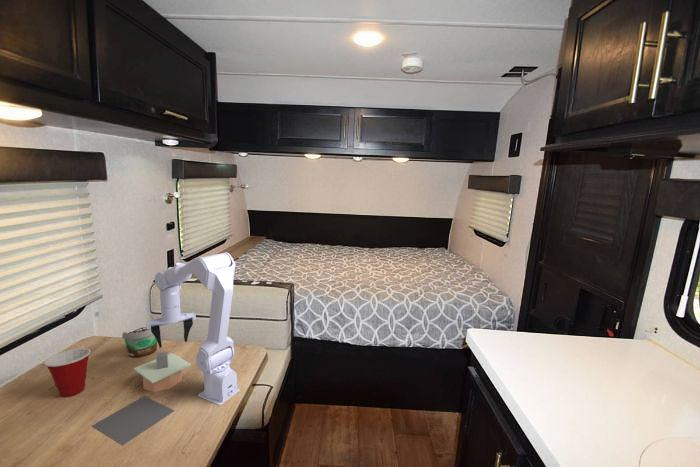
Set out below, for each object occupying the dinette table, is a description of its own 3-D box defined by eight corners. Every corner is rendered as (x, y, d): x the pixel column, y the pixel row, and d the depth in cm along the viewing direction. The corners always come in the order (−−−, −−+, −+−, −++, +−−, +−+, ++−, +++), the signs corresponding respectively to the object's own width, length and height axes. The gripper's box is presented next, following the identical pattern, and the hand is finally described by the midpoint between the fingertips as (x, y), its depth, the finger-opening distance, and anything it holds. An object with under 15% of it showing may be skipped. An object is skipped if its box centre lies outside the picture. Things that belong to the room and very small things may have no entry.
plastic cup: (89, 376, 109) (85, 342, 107) (99, 389, 102) (95, 354, 100) (45, 392, 101) (40, 356, 99) (52, 408, 94) (47, 369, 92)
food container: (130, 363, 117) (128, 337, 115) (123, 357, 120) (121, 332, 119) (166, 350, 126) (164, 325, 125) (159, 345, 130) (157, 321, 129)
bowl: (189, 376, 110) (188, 362, 109) (162, 395, 100) (161, 380, 99) (164, 370, 113) (163, 356, 113) (136, 388, 103) (134, 373, 103)
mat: (174, 411, 93) (174, 410, 93) (122, 446, 81) (122, 445, 81) (144, 396, 99) (144, 395, 99) (91, 427, 87) (91, 425, 87)
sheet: (190, 365, 108) (190, 352, 107) (152, 383, 98) (151, 369, 97) (171, 354, 114) (171, 341, 114) (134, 370, 105) (132, 356, 104)
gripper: (192, 297, 117) (194, 333, 119) (144, 305, 109) (147, 344, 111) (196, 304, 111) (198, 341, 113) (145, 313, 103) (149, 353, 105)
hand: (173, 343), depth 112 cm, fingers open, 7 cm apart
